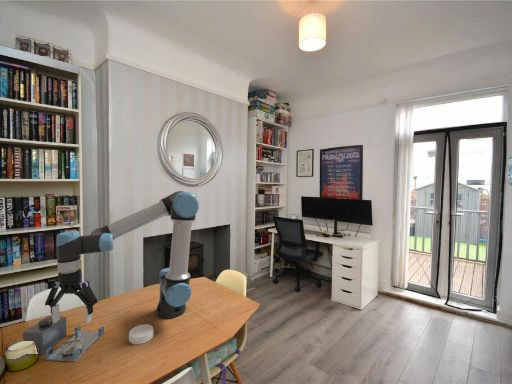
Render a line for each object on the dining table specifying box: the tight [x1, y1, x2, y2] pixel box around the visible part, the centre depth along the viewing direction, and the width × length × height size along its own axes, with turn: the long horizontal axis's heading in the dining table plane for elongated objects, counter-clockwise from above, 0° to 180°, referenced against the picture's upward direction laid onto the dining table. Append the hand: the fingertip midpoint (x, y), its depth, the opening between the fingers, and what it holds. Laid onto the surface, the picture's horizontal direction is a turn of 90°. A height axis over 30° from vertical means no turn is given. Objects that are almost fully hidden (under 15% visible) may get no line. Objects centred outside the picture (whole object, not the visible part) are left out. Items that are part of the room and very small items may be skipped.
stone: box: [60, 337, 83, 355], centre depth 104 cm, size 10×7×3 cm
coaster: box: [128, 323, 154, 345], centre depth 113 cm, size 10×10×4 cm
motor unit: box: [22, 315, 106, 362], centre depth 107 cm, size 24×18×10 cm
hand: (72, 321), depth 103 cm, fingers open, 13 cm apart
